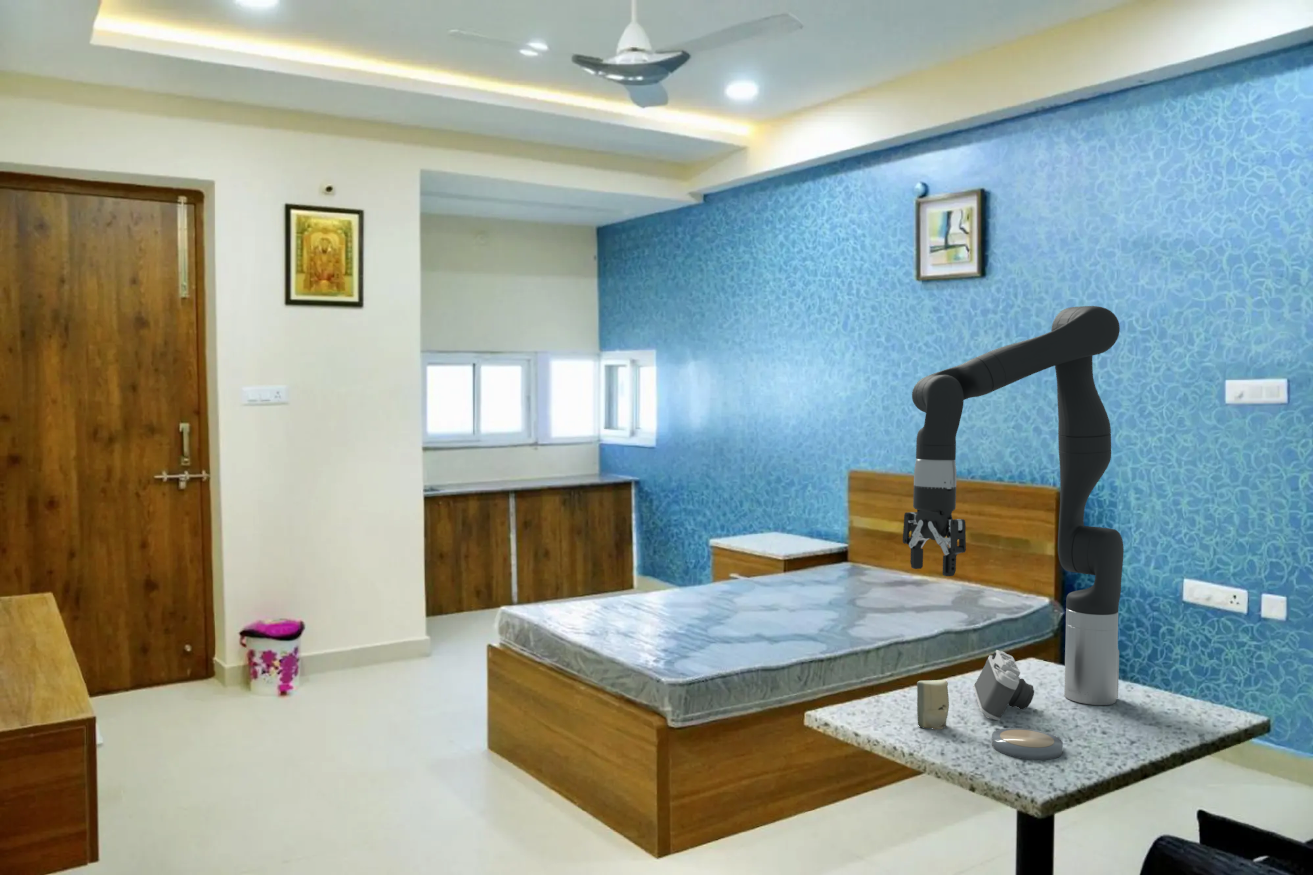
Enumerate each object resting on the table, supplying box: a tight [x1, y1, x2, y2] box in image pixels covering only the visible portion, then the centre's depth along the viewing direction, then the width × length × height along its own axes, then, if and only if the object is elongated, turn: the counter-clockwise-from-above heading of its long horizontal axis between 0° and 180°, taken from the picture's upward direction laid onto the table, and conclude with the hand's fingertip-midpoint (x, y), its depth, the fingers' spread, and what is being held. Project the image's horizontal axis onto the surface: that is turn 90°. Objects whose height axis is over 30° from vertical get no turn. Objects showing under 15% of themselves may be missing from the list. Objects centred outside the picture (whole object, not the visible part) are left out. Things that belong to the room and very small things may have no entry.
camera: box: [972, 649, 1035, 721], centre depth 185 cm, size 9×16×10 cm, turn 169°
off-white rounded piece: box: [916, 679, 950, 730], centre depth 175 cm, size 6×5×8 cm
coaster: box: [991, 727, 1064, 761], centre depth 164 cm, size 11×11×2 cm
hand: (932, 572), depth 183 cm, fingers open, 8 cm apart
